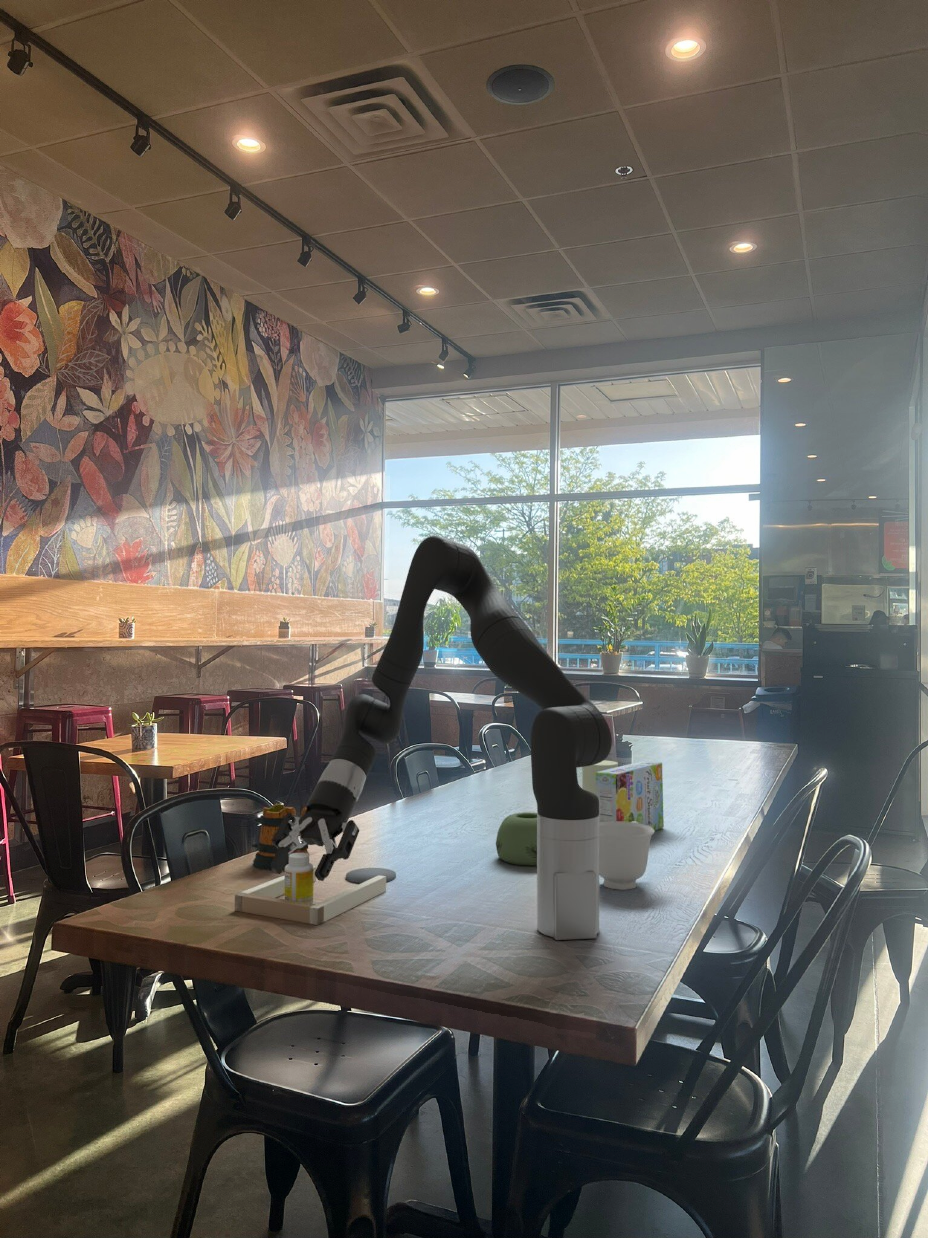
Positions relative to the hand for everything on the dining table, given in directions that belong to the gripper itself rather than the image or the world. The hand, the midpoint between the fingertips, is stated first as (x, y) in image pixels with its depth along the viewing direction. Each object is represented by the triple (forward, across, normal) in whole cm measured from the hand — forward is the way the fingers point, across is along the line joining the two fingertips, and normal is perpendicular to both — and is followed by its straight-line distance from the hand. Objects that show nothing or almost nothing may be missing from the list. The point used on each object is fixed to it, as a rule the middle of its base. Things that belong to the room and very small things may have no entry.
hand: (296, 875), depth 144 cm
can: (-68, +19, +76) cm, 104 cm away
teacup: (-22, +43, +30) cm, 57 cm away
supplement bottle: (+4, 0, +4) cm, 6 cm away
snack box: (-50, +34, +58) cm, 83 cm away
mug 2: (-29, +22, +37) cm, 52 cm away
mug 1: (-11, -18, +19) cm, 28 cm away
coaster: (-11, +1, +18) cm, 22 cm away
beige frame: (+1, 0, +7) cm, 7 cm away
